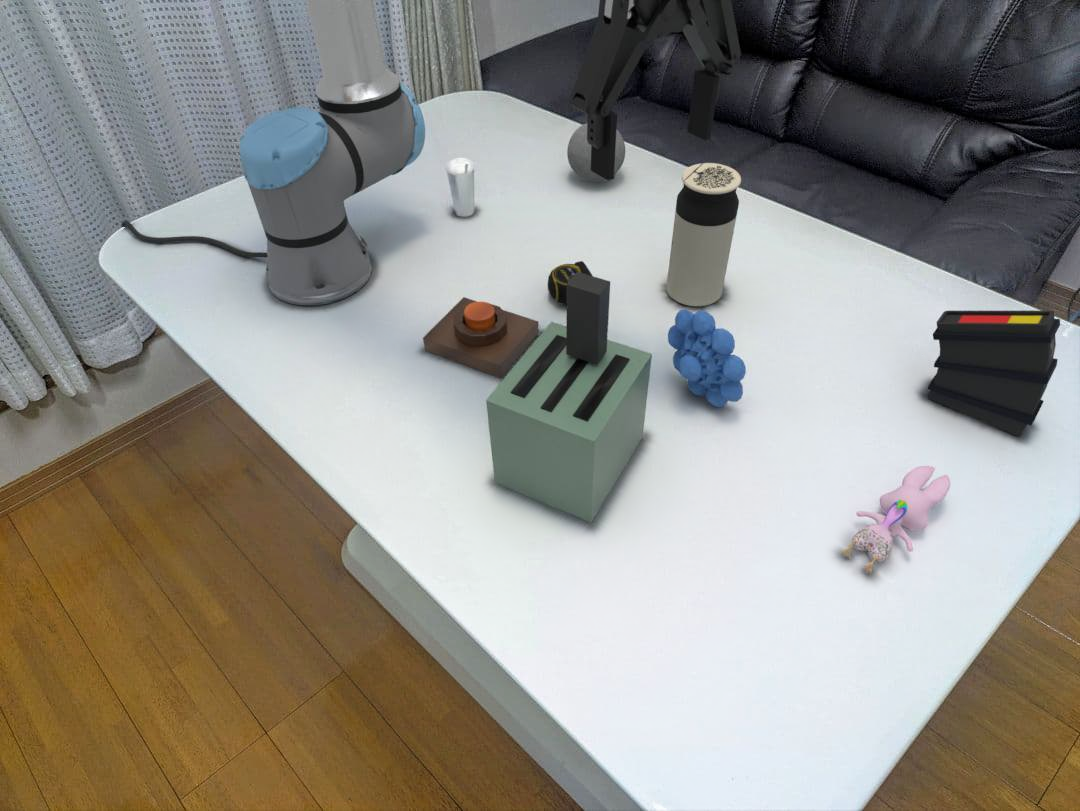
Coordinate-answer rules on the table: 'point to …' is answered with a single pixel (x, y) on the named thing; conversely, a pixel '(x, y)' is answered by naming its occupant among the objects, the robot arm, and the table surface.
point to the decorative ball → (582, 154)
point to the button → (479, 315)
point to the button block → (482, 339)
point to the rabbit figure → (900, 514)
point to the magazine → (995, 365)
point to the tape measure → (564, 279)
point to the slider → (587, 317)
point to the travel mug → (702, 233)
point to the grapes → (706, 357)
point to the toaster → (568, 422)
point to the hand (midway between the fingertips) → (652, 154)
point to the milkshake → (462, 185)
